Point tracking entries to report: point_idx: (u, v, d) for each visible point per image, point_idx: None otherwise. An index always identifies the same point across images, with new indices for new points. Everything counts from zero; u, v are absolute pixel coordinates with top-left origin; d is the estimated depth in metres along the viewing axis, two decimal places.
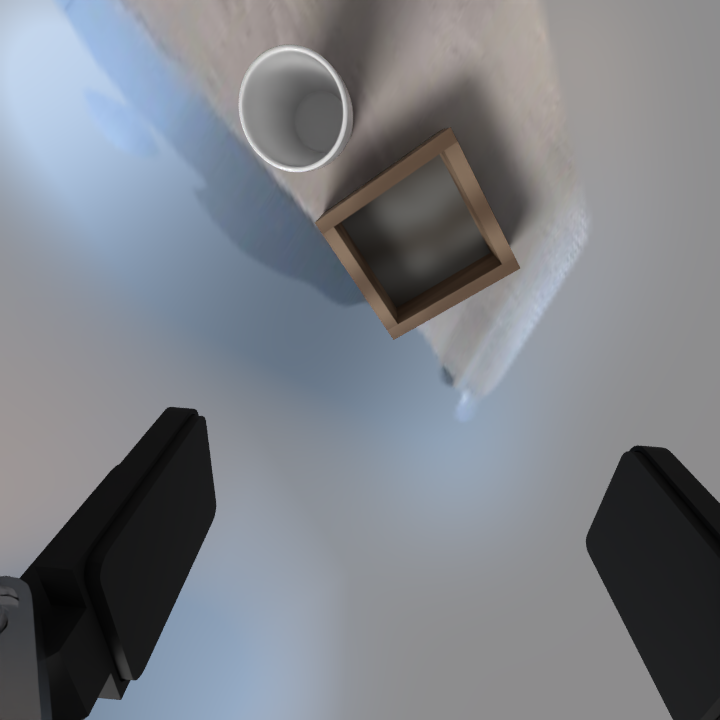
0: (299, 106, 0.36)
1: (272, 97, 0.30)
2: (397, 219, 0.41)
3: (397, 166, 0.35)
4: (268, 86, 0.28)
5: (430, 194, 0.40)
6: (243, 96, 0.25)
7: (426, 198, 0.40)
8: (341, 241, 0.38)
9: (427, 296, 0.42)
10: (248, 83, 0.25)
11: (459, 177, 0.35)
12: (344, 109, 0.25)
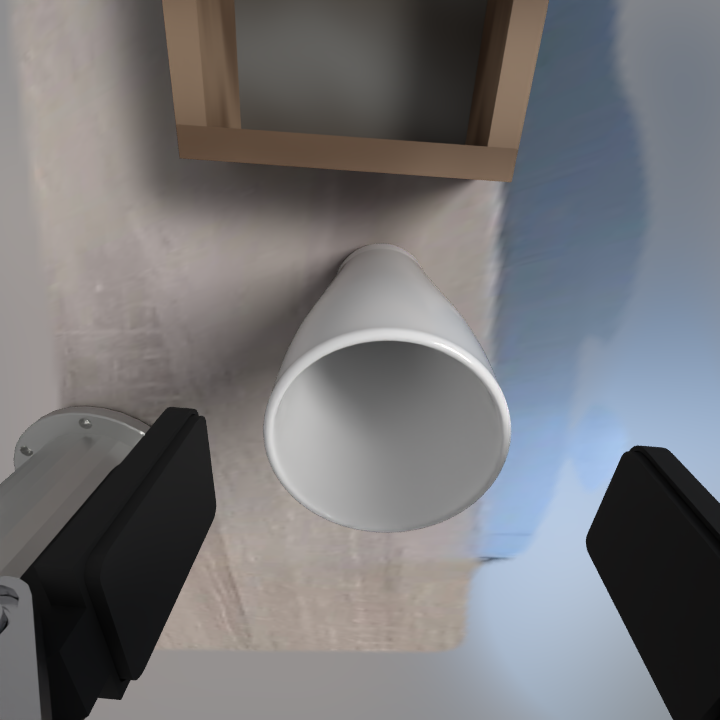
0: None
1: (411, 405, 0.18)
2: (372, 63, 0.19)
3: (302, 163, 0.17)
4: (402, 433, 0.16)
5: (289, 63, 0.19)
6: (446, 511, 0.12)
7: (299, 61, 0.19)
8: (498, 104, 0.16)
9: None
10: (422, 512, 0.13)
11: (197, 49, 0.15)
12: (285, 386, 0.10)
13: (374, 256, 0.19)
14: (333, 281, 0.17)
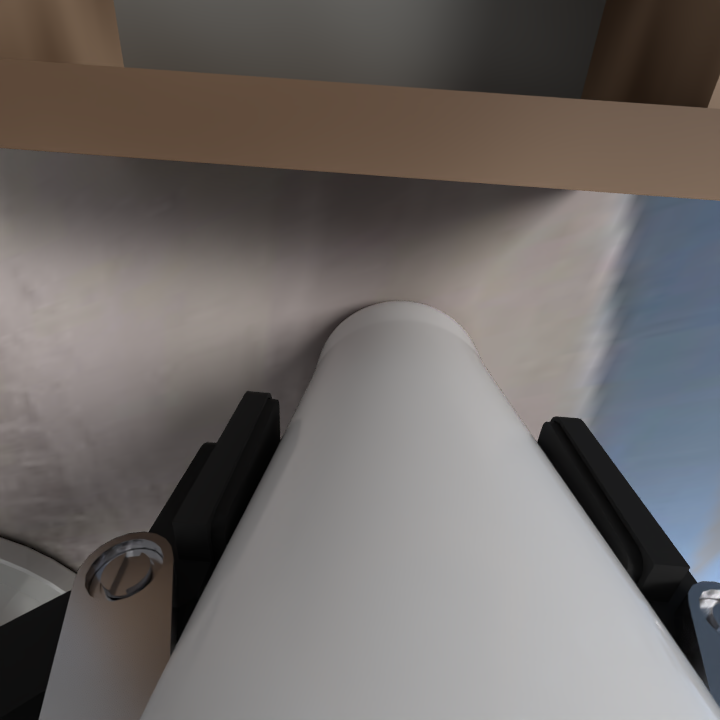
0: None
1: None
2: None
3: (214, 155, 0.07)
4: None
5: None
6: None
7: None
8: None
9: None
10: None
11: None
12: None
13: (391, 359, 0.09)
14: (293, 441, 0.07)
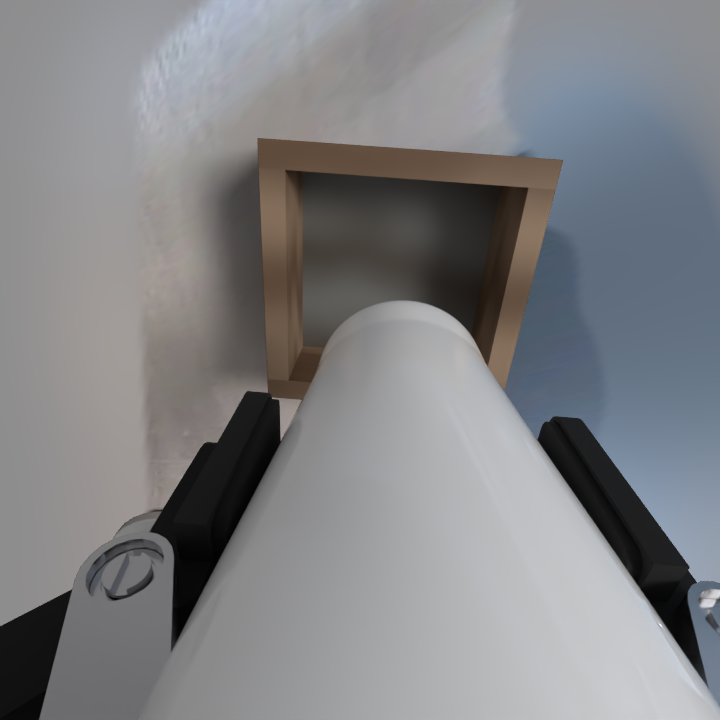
0: None
1: None
2: None
3: None
4: None
5: (340, 307, 0.27)
6: None
7: (347, 306, 0.27)
8: None
9: None
10: None
11: (285, 341, 0.23)
12: None
13: (393, 358, 0.09)
14: (294, 440, 0.07)
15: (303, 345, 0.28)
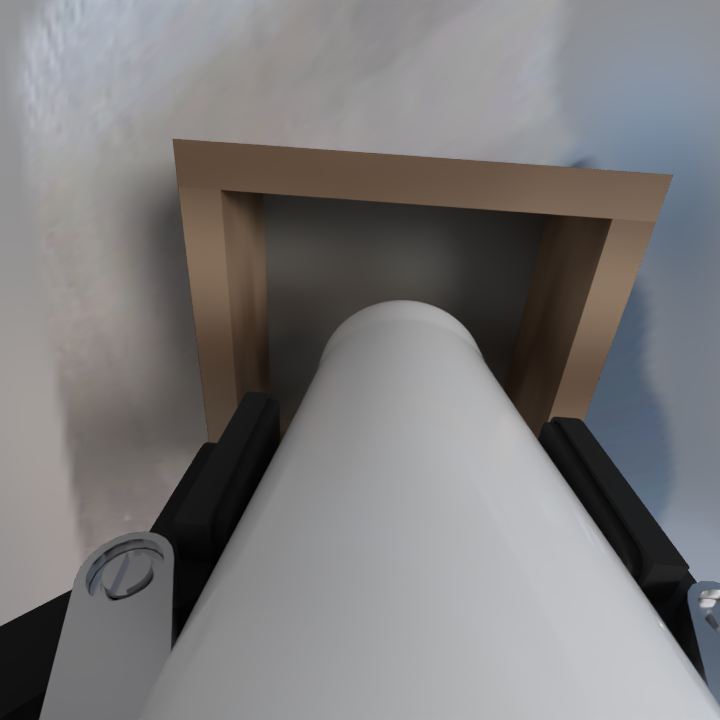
0: None
1: None
2: None
3: None
4: None
5: None
6: None
7: None
8: None
9: None
10: None
11: None
12: None
13: (393, 358, 0.09)
14: (294, 439, 0.07)
15: None
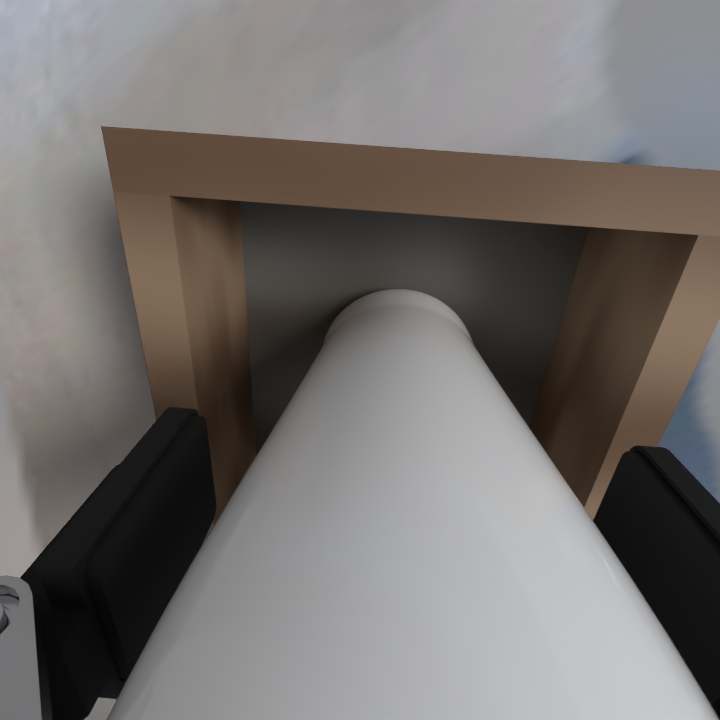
0: None
1: None
2: None
3: None
4: None
5: None
6: None
7: None
8: None
9: None
10: None
11: None
12: None
13: (389, 334, 0.10)
14: (300, 398, 0.08)
15: None
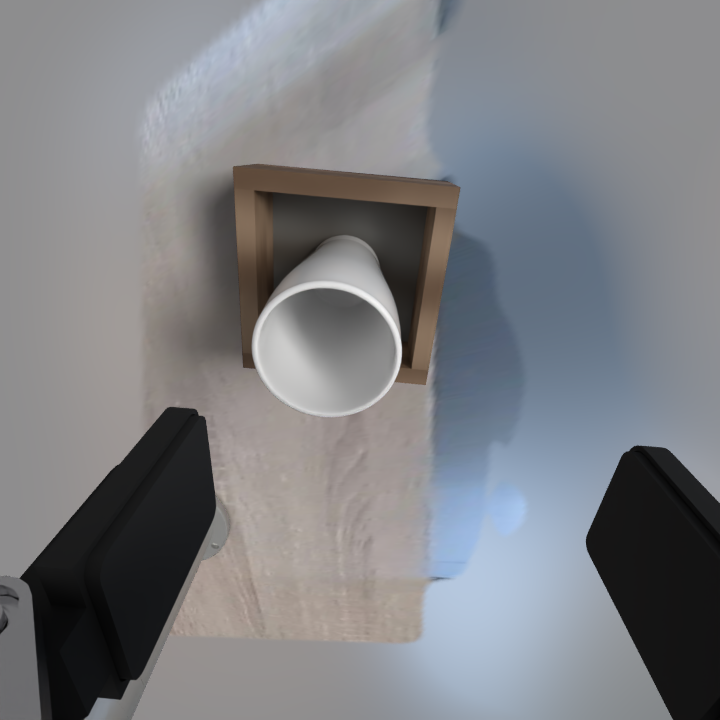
0: (352, 304, 0.31)
1: (357, 350, 0.25)
2: None
3: None
4: (348, 367, 0.24)
5: None
6: (365, 403, 0.19)
7: None
8: (416, 351, 0.29)
9: None
10: (351, 405, 0.20)
11: None
12: (266, 314, 0.17)
13: (336, 243, 0.26)
14: None
15: None
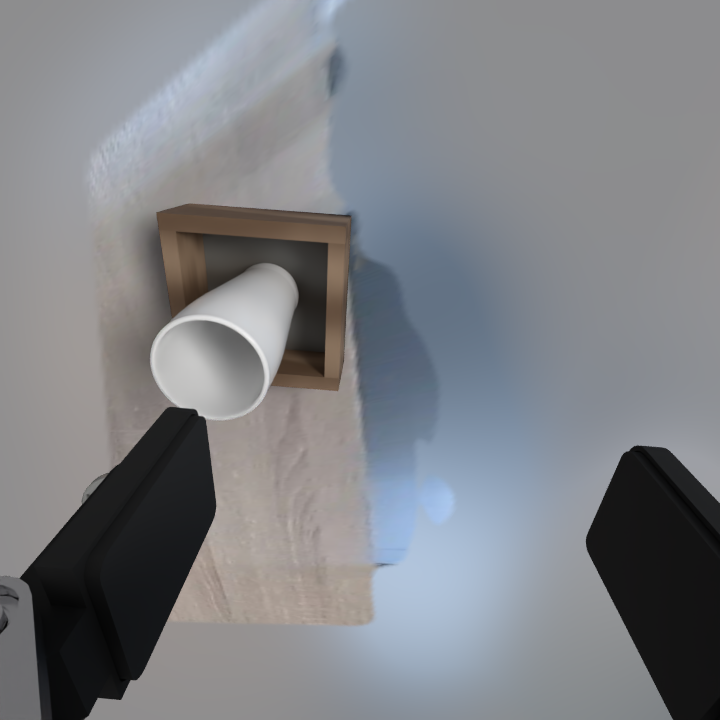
0: None
1: (262, 364, 0.30)
2: None
3: None
4: (250, 378, 0.28)
5: None
6: (246, 409, 0.24)
7: None
8: (326, 362, 0.34)
9: None
10: (237, 411, 0.25)
11: None
12: (157, 340, 0.22)
13: (247, 273, 0.31)
14: None
15: None
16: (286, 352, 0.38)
